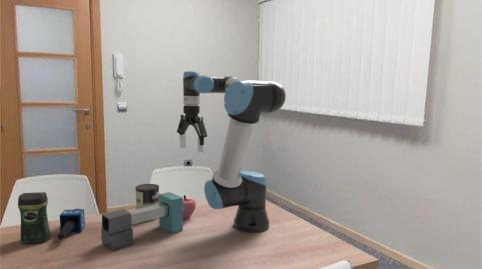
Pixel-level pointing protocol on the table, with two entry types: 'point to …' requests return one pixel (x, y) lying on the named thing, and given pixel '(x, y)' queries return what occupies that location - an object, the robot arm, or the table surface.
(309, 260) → the table surface
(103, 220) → the stand
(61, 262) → the table surface
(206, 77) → the robot arm
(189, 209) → the apple
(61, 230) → the microphone
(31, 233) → the coffee jar
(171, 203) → the socket block
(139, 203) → the coffee can
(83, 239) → the table surface
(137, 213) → the slip tube
